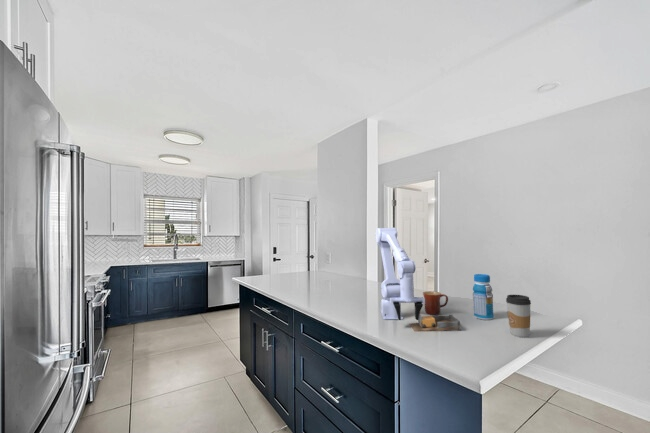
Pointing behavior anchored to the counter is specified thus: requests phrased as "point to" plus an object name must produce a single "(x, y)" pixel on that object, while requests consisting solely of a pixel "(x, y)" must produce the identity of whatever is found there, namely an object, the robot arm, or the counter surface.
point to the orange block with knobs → (426, 321)
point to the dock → (440, 324)
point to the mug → (433, 302)
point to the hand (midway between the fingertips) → (408, 319)
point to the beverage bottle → (483, 297)
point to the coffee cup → (519, 315)
